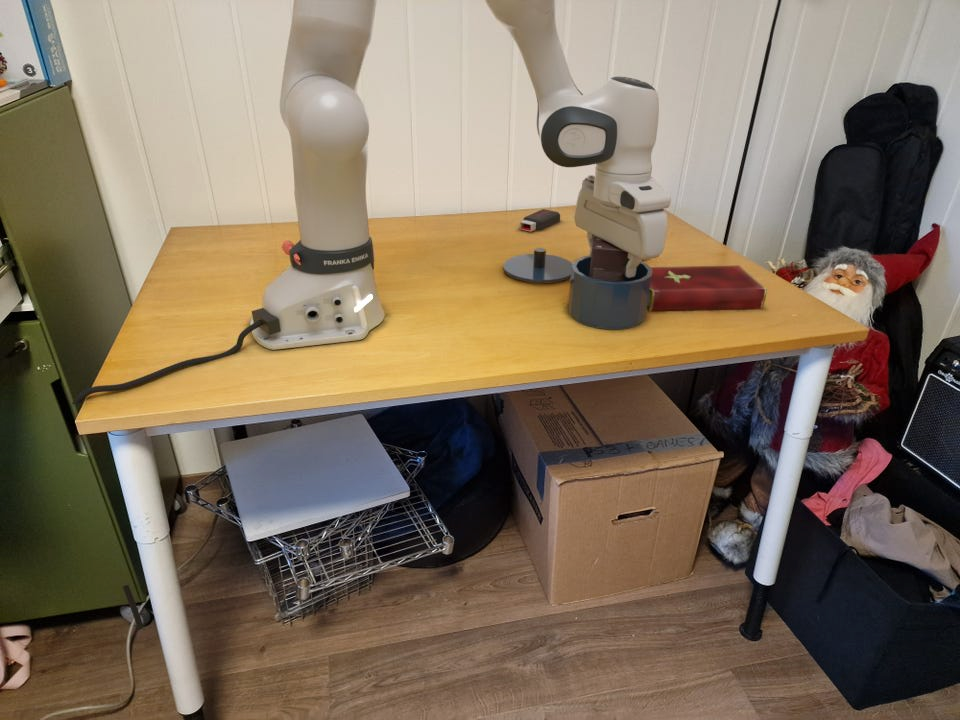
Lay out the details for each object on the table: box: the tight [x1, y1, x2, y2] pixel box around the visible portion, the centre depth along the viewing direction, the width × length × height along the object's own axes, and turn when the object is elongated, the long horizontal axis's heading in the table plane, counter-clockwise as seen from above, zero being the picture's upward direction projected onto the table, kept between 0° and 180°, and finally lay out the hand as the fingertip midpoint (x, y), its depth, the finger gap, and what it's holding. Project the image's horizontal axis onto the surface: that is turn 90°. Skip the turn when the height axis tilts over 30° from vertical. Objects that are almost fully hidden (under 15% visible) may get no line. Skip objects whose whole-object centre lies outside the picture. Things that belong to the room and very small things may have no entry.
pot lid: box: [502, 247, 574, 284], centre depth 131 cm, size 15×15×5 cm
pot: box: [567, 255, 653, 331], centre depth 114 cm, size 14×14×8 cm
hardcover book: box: [647, 264, 768, 312], centre depth 121 cm, size 12×21×4 cm, turn 94°
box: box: [589, 237, 628, 282], centre depth 111 cm, size 6×6×7 cm
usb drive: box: [519, 208, 561, 233], centre depth 158 cm, size 5×12×3 cm, turn 144°
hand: (611, 266), depth 112 cm, fingers closed on box, 8 cm apart
